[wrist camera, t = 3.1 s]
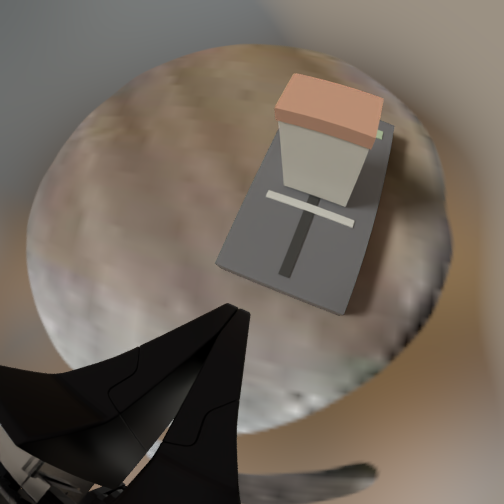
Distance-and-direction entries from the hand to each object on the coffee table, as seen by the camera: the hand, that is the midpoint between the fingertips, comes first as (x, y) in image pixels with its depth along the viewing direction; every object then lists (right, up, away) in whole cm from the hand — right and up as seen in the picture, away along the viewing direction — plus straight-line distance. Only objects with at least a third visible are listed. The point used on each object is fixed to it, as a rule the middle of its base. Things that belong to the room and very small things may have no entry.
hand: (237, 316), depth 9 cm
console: (+6, +7, +14) cm, 17 cm away
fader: (+6, +8, +12) cm, 15 cm away
